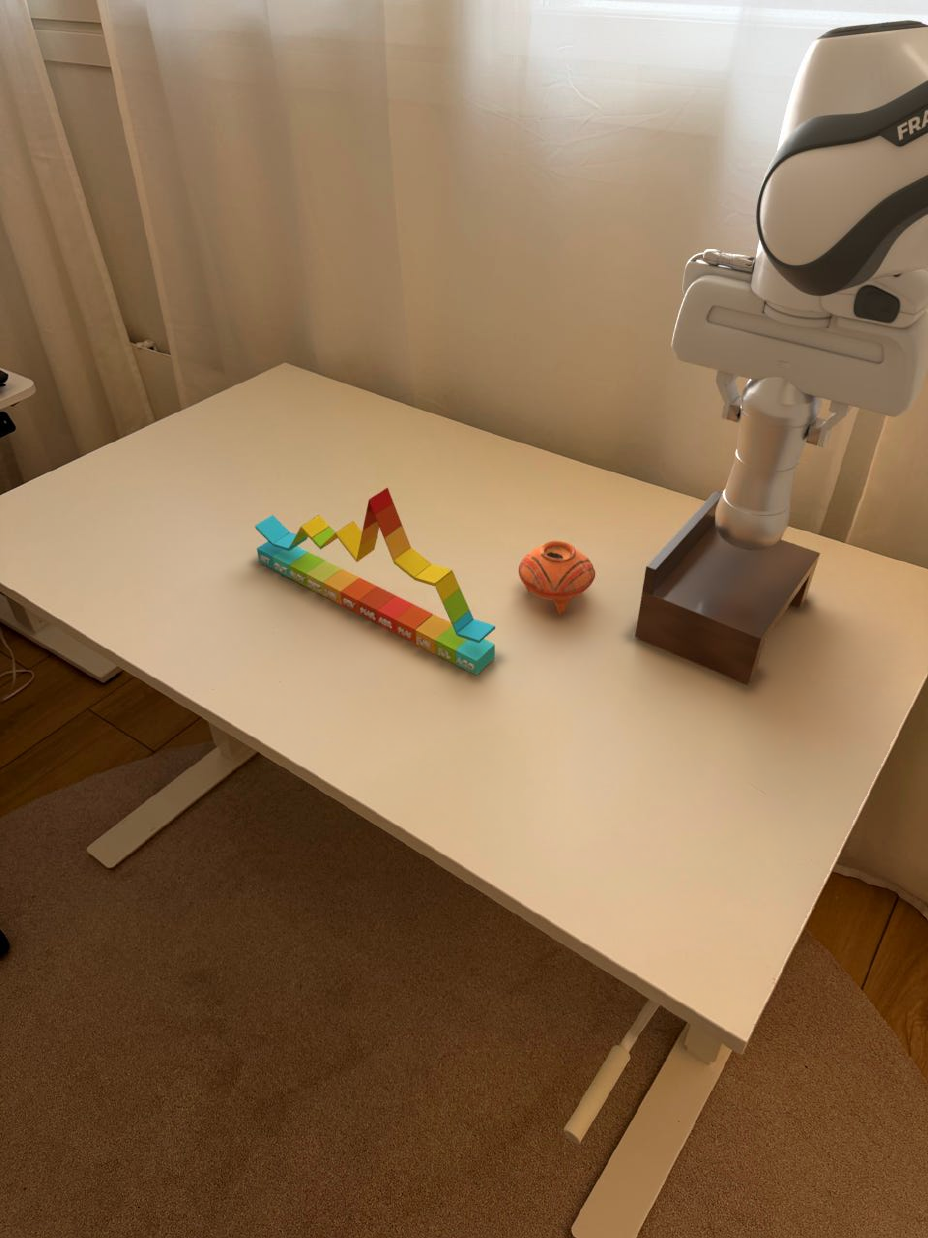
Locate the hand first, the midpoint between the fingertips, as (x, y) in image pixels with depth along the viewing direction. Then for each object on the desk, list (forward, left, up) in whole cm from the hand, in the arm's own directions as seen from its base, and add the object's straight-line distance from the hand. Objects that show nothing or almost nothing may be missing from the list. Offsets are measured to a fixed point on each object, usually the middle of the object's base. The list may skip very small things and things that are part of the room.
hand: (774, 430), depth 78 cm
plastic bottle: (0, 0, -12) cm, 12 cm away
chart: (+32, +20, -22) cm, 43 cm away
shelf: (+1, 0, -22) cm, 22 cm away
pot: (+17, +7, -22) cm, 28 cm away
